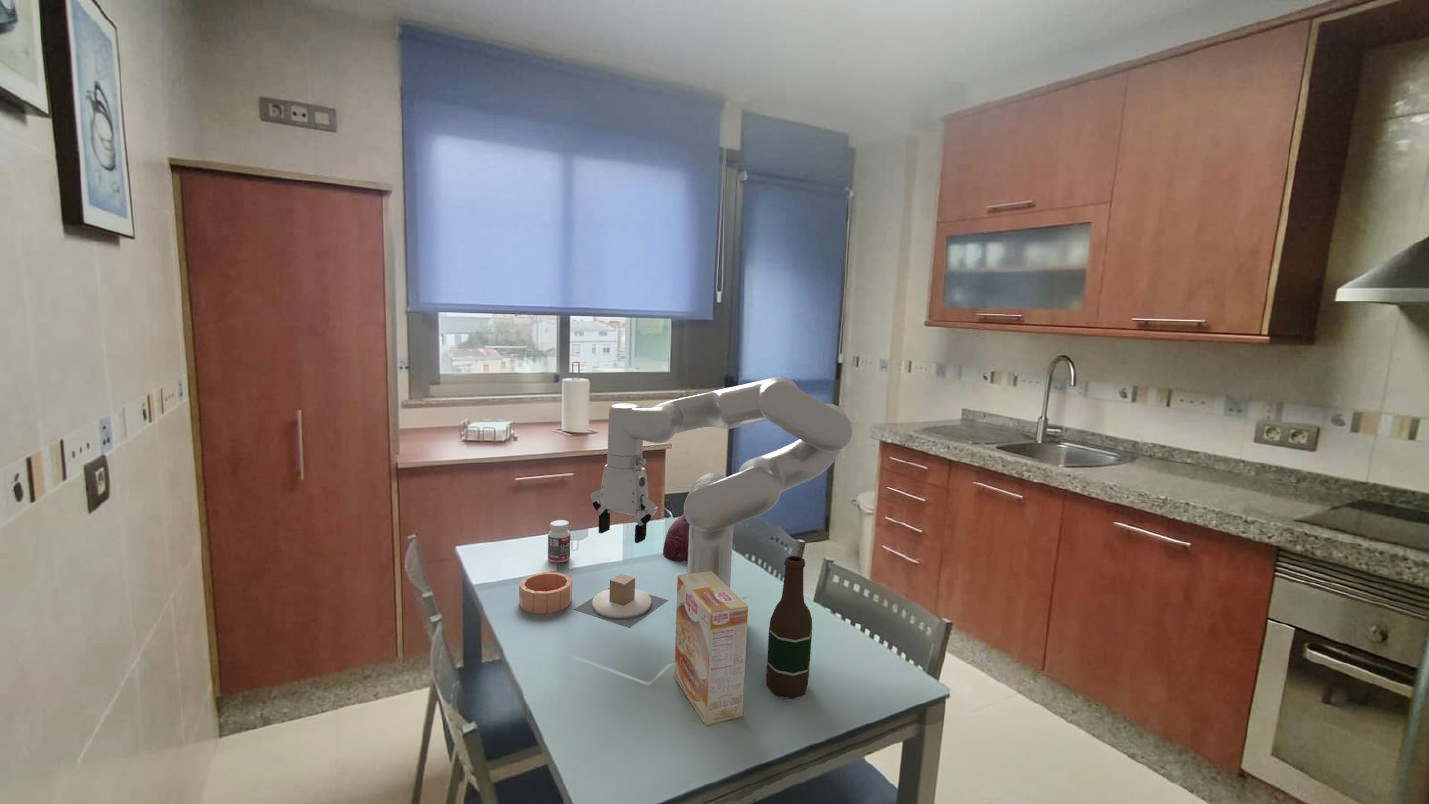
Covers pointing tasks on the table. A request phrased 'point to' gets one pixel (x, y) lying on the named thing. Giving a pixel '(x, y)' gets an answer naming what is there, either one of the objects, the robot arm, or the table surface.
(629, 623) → the mat
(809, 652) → the beer bottle
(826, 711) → the table surface
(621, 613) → the lid
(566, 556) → the pill bottle
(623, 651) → the table surface
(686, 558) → the vegetable
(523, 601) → the bowl
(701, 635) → the coffeecake box
